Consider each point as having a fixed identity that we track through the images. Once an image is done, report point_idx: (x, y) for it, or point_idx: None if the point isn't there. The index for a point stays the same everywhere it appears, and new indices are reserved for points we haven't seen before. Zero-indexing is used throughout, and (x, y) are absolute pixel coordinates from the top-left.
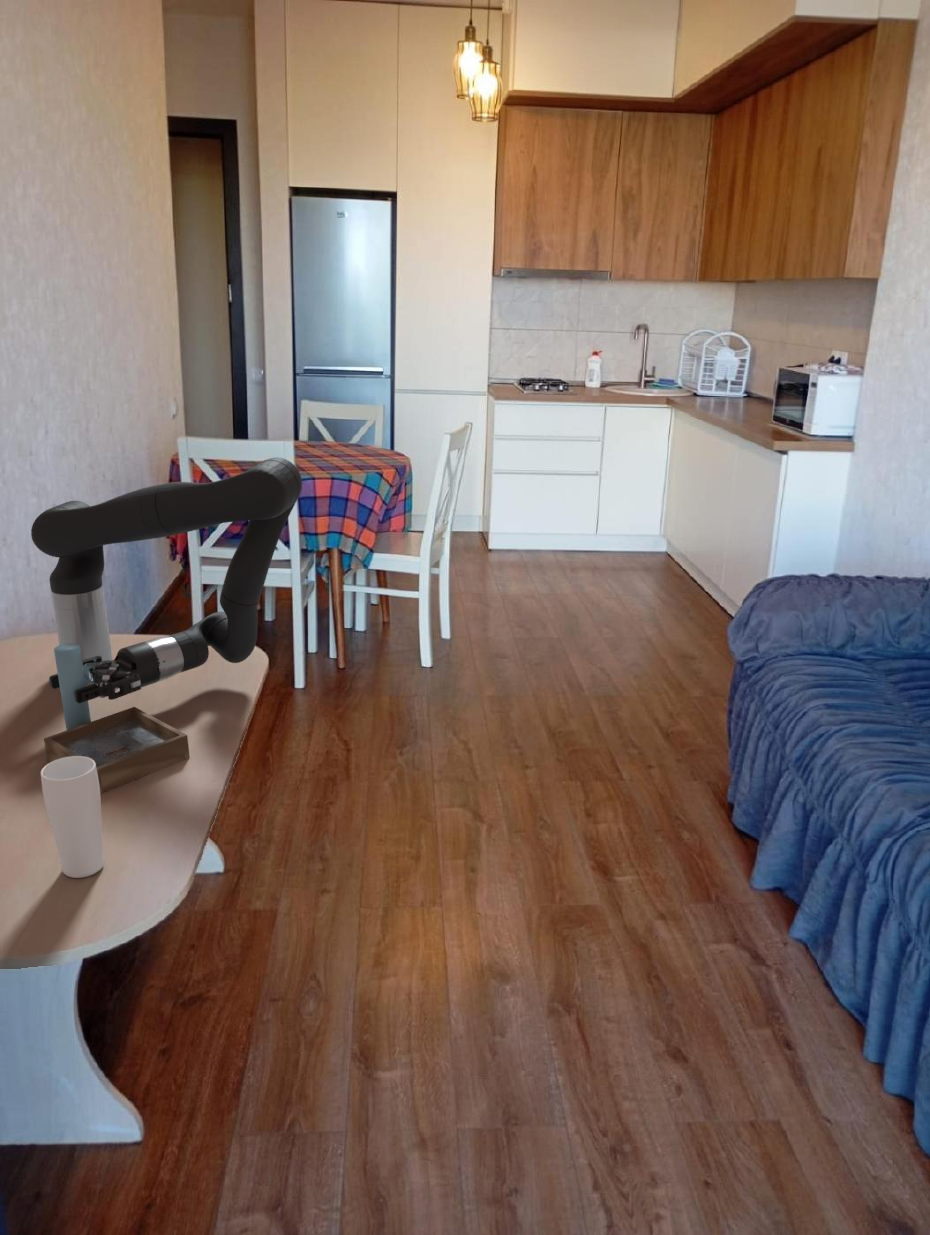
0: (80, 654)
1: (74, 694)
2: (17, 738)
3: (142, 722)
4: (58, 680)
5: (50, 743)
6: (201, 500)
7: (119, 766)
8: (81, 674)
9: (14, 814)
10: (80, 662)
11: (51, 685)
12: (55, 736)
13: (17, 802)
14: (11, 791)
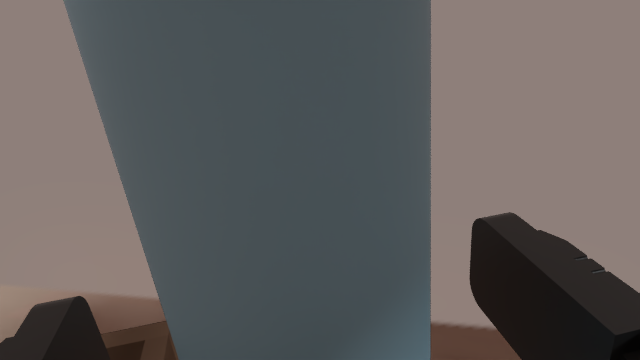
0: (101, 8)
1: (87, 315)
2: (461, 342)
3: None
4: (504, 281)
5: (108, 334)
6: None
7: None
8: (159, 294)
9: (3, 291)
10: (117, 141)
11: (475, 267)
12: (143, 356)
13: (45, 300)
14: (111, 296)
